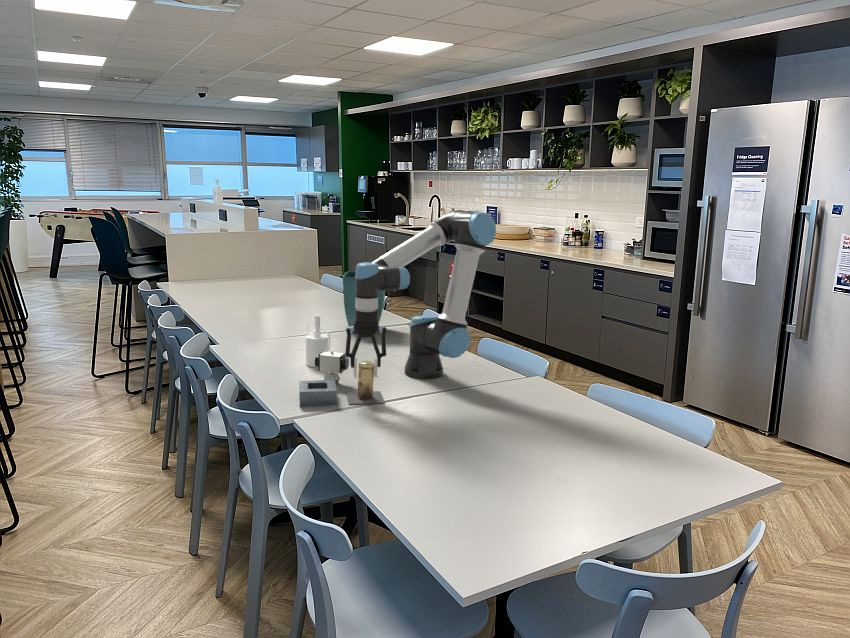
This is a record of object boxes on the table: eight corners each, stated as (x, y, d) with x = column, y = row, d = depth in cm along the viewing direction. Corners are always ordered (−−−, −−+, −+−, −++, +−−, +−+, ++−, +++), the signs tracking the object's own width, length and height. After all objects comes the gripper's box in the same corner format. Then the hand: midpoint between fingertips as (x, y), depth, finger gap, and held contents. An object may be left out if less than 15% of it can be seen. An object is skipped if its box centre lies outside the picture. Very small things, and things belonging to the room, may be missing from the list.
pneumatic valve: (344, 386, 228) (345, 354, 226) (314, 383, 231) (314, 351, 228) (349, 381, 234) (350, 350, 231) (319, 378, 236) (319, 347, 234)
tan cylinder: (371, 394, 219) (373, 361, 217) (373, 399, 214) (375, 364, 212) (356, 394, 218) (358, 361, 216) (358, 399, 213) (359, 364, 211)
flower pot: (382, 335, 307) (383, 277, 301) (341, 333, 307) (342, 276, 301) (385, 326, 327) (387, 272, 321) (347, 325, 327) (347, 270, 321)
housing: (334, 393, 220) (334, 379, 219) (336, 405, 208) (336, 390, 207) (299, 394, 217) (299, 380, 216) (299, 406, 206) (299, 392, 205)
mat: (380, 392, 223) (380, 391, 223) (384, 403, 212) (384, 402, 211) (346, 393, 221) (346, 392, 221) (348, 404, 209) (348, 403, 209)
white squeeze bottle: (313, 368, 249) (313, 318, 244) (301, 363, 255) (300, 314, 251) (335, 364, 255) (336, 316, 251) (323, 359, 262) (323, 312, 258)
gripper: (393, 307, 215) (391, 372, 220) (336, 307, 211) (336, 373, 216) (396, 311, 208) (395, 378, 213) (338, 312, 204) (337, 380, 209)
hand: (365, 376), depth 214 cm, fingers open, 6 cm apart
